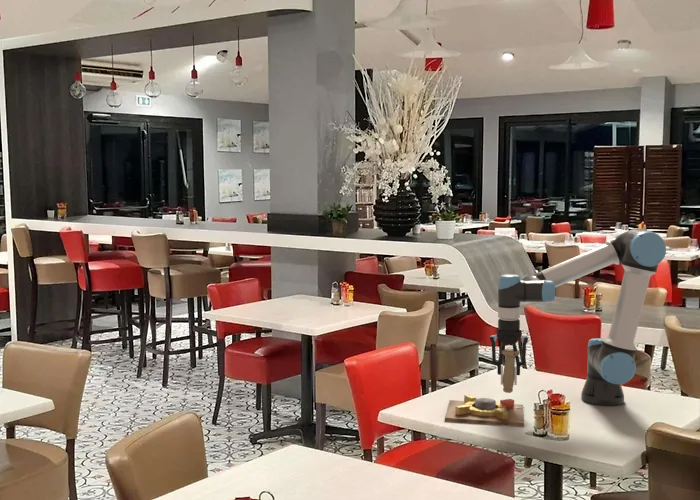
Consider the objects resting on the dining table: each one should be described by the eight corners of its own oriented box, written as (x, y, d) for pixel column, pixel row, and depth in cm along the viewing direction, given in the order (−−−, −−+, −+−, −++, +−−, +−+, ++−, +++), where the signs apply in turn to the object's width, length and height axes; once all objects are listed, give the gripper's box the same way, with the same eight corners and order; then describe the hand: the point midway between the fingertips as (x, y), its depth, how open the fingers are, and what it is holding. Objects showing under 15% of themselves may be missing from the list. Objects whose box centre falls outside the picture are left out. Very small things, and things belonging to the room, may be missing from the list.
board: (523, 408, 289) (524, 394, 288) (524, 426, 267) (525, 412, 267) (449, 403, 294) (449, 390, 293) (444, 421, 272) (445, 407, 272)
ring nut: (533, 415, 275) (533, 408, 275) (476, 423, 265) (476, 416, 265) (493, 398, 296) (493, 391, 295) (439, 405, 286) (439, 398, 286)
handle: (519, 392, 287) (522, 351, 285) (504, 394, 284) (507, 352, 282) (510, 389, 291) (513, 348, 289) (496, 390, 288) (498, 349, 287)
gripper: (533, 317, 288) (533, 382, 290) (484, 316, 291) (484, 380, 293) (534, 321, 280) (533, 387, 282) (484, 320, 283) (483, 385, 286)
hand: (508, 383), depth 288 cm, fingers closed on handle, 4 cm apart
